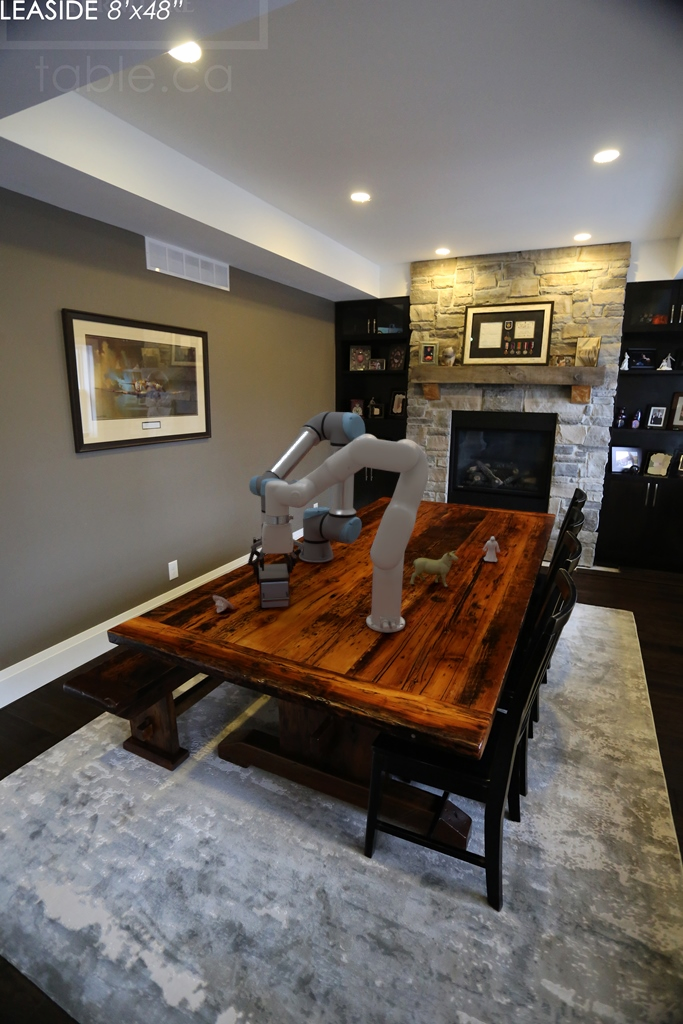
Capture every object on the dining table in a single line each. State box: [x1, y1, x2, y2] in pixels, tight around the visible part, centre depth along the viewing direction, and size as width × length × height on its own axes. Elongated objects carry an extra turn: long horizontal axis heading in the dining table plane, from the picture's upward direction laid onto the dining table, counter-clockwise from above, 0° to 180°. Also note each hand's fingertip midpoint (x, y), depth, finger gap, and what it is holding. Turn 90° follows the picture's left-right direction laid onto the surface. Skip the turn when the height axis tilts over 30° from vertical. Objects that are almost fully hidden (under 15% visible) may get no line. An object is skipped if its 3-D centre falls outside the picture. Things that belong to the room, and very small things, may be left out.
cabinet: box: [258, 563, 290, 609], centre depth 179 cm, size 14×10×11 cm
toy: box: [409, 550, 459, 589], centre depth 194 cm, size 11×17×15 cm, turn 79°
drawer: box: [261, 580, 290, 608], centre depth 173 cm, size 18×9×9 cm, turn 11°
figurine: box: [482, 535, 501, 563], centre depth 223 cm, size 8×8×12 cm
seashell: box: [212, 594, 235, 614], centre depth 169 cm, size 8×5×8 cm
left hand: (273, 582), depth 181 cm, fingers closed on cabinet, 10 cm apart
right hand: (277, 569), depth 166 cm, fingers open, 9 cm apart
